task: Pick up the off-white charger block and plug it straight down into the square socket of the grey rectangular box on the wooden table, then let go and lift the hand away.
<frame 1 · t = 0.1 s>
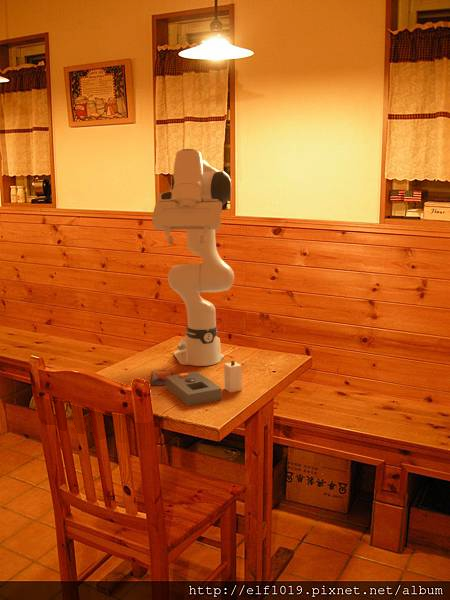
hand: (186, 242, 181), 54 cm above the table, tool tilted 30°, fingers open, 8 cm apart
grey rectangular box: (192, 393, 213), on the table
charger: (233, 389, 216), on the table
smartphone: (161, 380, 228), on the table
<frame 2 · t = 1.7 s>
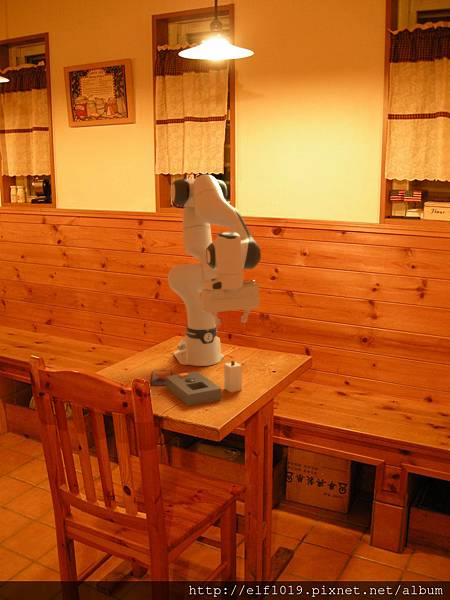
hand: (231, 323, 207), 25 cm above the table, tool pointing down, fingers open, 8 cm apart
nothing on the table moved.
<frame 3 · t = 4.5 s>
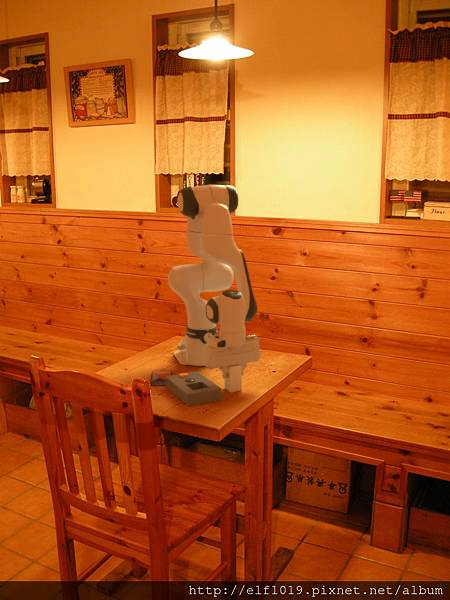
hand: (232, 376, 215), 5 cm above the table, tool pointing down, fingers closed on charger, 4 cm apart
charger: (233, 389, 216), on the table, touching gripper
everything else where it was.
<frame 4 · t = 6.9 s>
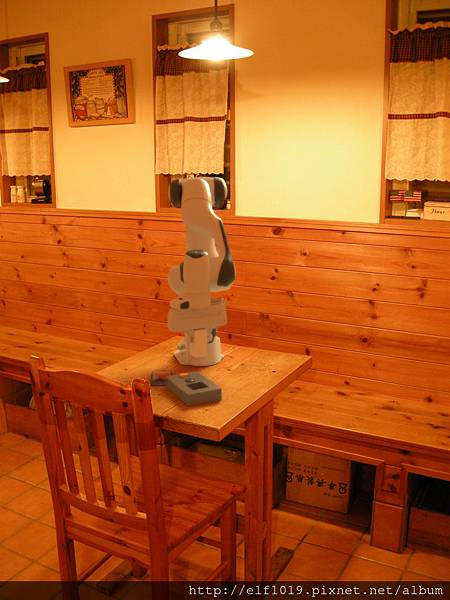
hand: (198, 341, 205), 19 cm above the table, tool pointing down, fingers closed on charger, 4 cm apart
charger: (198, 354, 206), point 15 cm above the table, touching gripper
everything else where it was.
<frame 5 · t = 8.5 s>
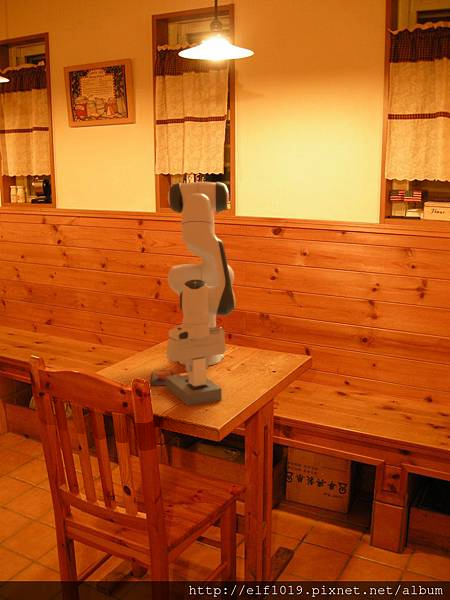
hand: (197, 370, 207), 10 cm above the table, tool pointing down, fingers closed on charger, 4 cm apart
charger: (197, 383, 208), point 5 cm above the table, touching gripper
everything else where it was.
when the fingers open (6 cm above the table, at t = 9.6 s): charger stays where it is, resting in grey rectangular box.
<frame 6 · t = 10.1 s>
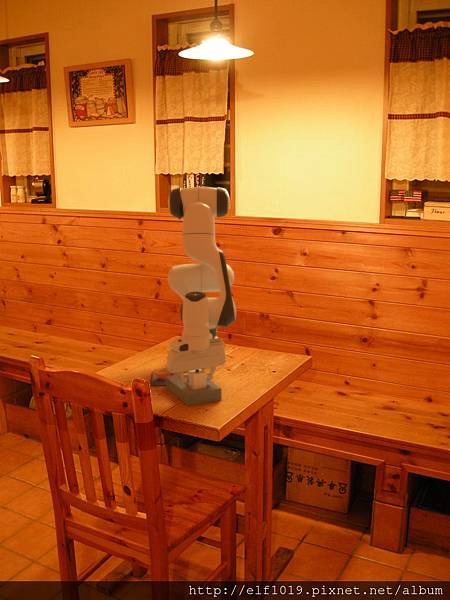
hand: (197, 381, 208), 6 cm above the table, tool pointing down, fingers open, 8 cm apart
charger: (197, 397, 209), resting in grey rectangular box
everything else where it was.
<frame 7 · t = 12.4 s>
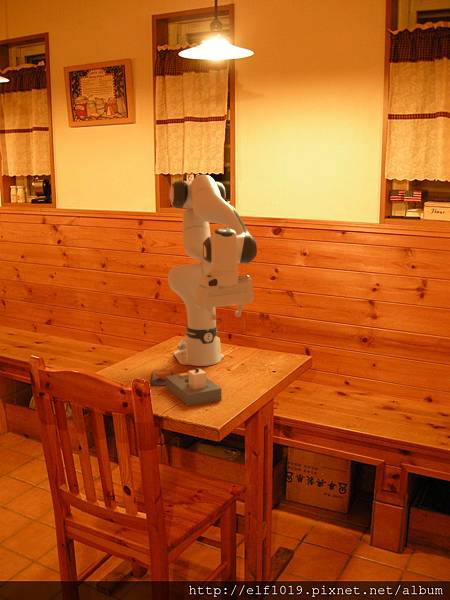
hand: (225, 318, 210), 26 cm above the table, tool pointing down, fingers open, 8 cm apart
nothing on the table moved.
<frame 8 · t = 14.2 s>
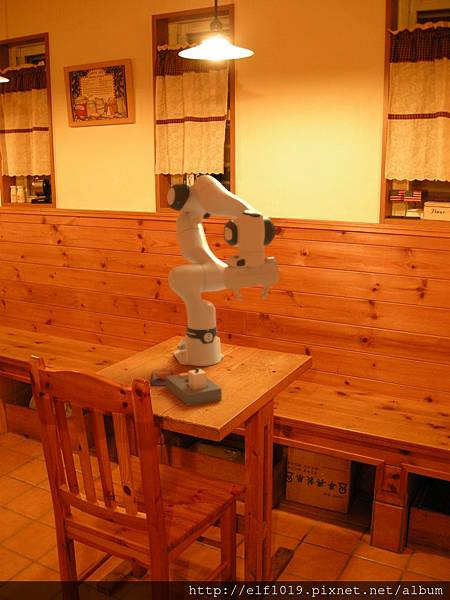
hand: (251, 298, 214), 31 cm above the table, tool pointing down, fingers open, 8 cm apart
nothing on the table moved.
at the end: charger 0.0 cm from the target spot on the grey rectangular box, point 0.0 cm above the grey rectangular box's base; charger tilted 0°; the gripper is holding nothing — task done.
